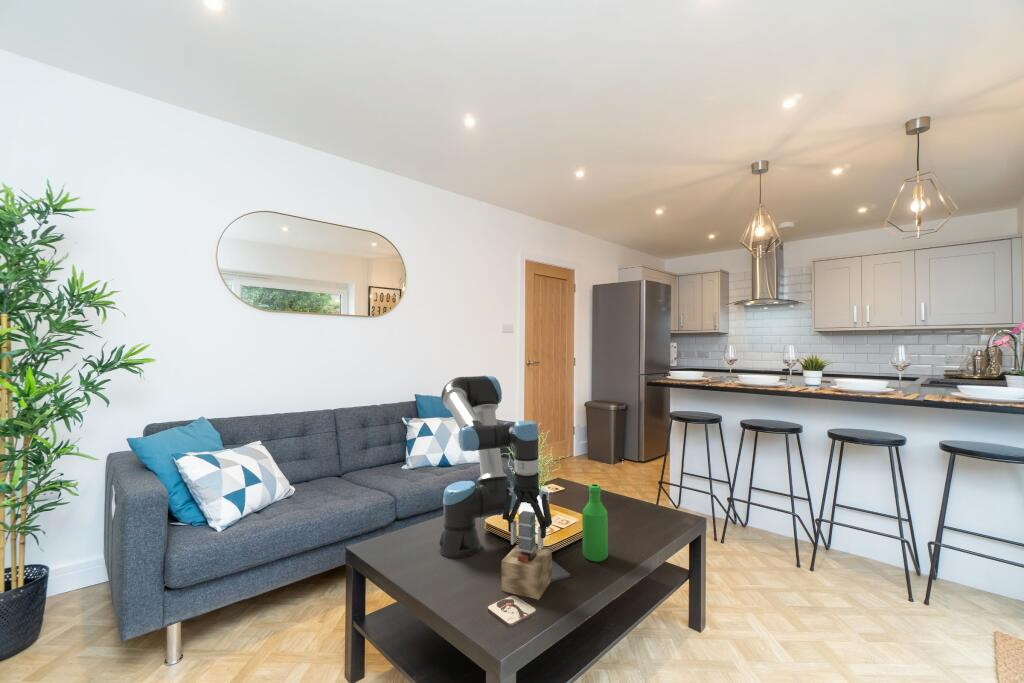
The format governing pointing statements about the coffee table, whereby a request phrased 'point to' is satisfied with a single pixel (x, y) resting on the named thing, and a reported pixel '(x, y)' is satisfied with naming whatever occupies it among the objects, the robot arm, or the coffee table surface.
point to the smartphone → (558, 572)
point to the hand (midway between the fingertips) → (527, 545)
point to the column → (527, 534)
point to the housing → (526, 573)
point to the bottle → (595, 527)
